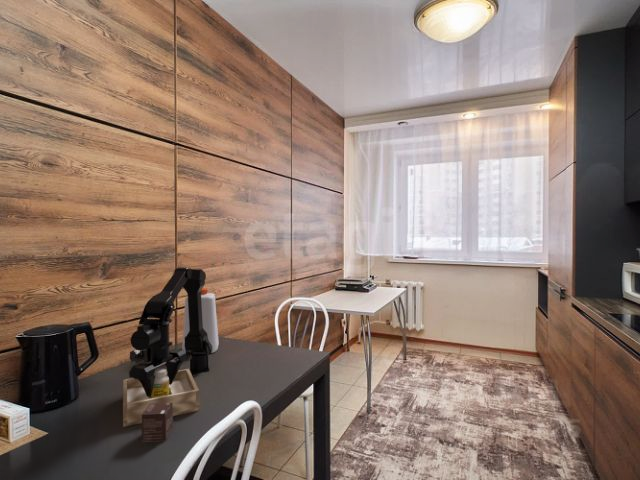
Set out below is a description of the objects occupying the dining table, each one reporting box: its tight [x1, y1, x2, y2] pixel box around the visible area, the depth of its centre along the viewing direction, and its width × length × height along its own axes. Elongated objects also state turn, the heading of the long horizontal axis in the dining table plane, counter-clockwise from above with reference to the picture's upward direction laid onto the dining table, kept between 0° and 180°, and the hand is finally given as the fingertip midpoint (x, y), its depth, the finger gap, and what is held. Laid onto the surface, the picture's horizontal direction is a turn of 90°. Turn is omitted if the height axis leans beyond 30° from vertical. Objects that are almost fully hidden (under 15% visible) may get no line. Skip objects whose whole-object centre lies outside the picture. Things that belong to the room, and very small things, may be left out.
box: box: [141, 403, 174, 443], centre depth 95 cm, size 6×6×7 cm
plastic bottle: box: [181, 287, 220, 354], centre depth 166 cm, size 15×15×28 cm
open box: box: [122, 368, 200, 428], centre depth 113 cm, size 20×20×6 cm
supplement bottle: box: [150, 368, 169, 399], centre depth 113 cm, size 5×5×10 cm
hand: (159, 390), depth 113 cm, fingers open, 9 cm apart
